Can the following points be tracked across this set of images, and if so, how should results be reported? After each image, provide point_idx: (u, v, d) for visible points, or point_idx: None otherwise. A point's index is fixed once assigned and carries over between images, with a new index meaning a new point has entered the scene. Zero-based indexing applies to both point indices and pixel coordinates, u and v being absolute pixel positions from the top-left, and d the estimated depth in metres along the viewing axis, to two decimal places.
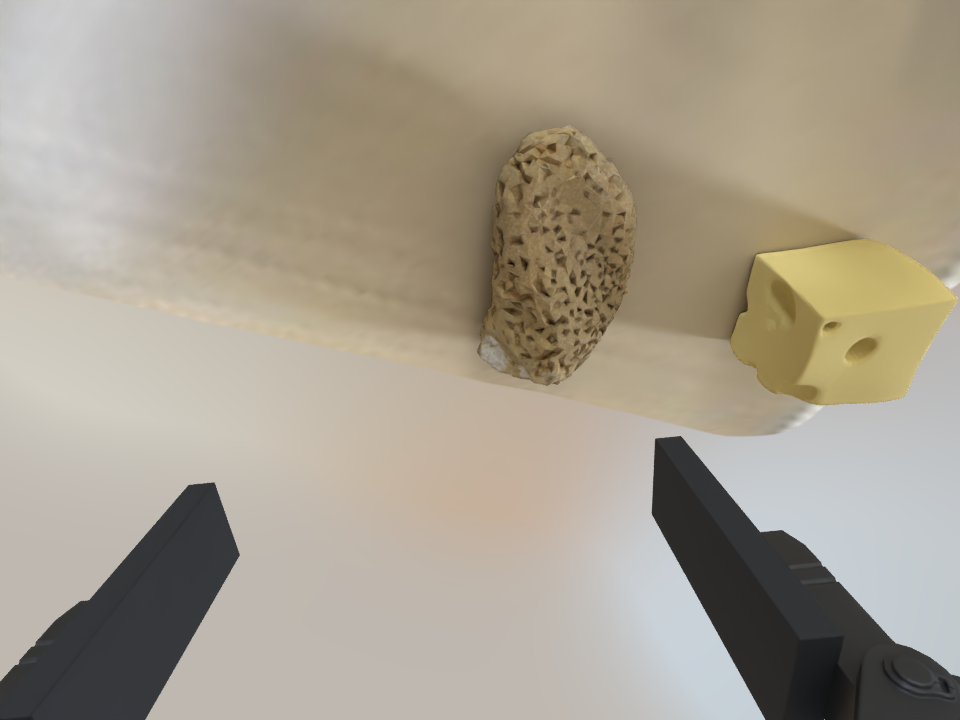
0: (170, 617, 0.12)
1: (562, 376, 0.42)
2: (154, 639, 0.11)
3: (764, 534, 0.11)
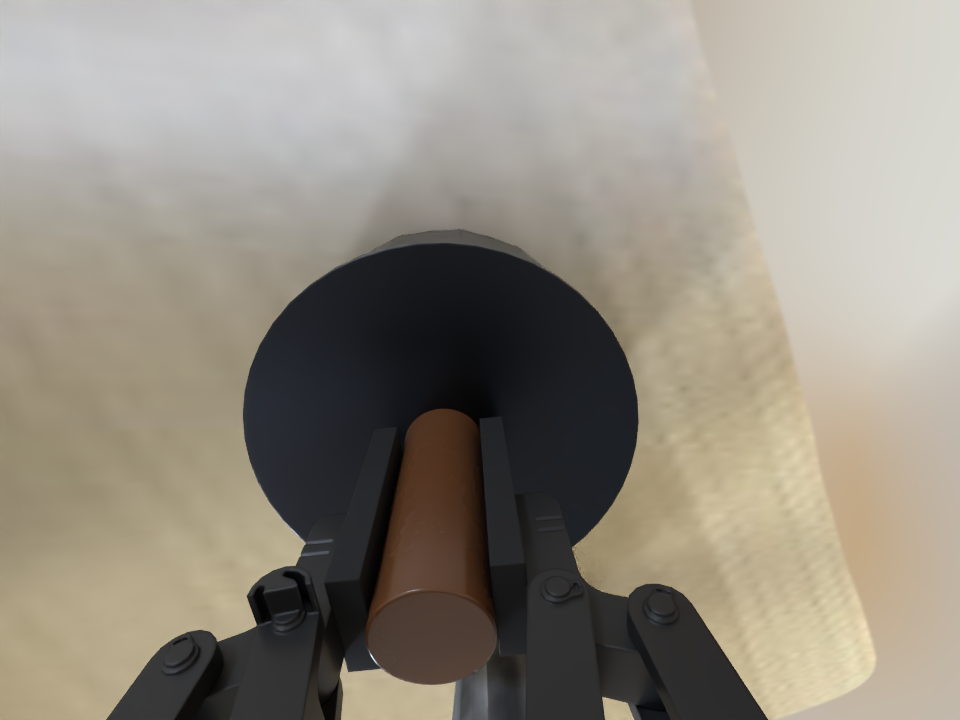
0: None
1: None
2: None
3: (531, 494, 0.13)
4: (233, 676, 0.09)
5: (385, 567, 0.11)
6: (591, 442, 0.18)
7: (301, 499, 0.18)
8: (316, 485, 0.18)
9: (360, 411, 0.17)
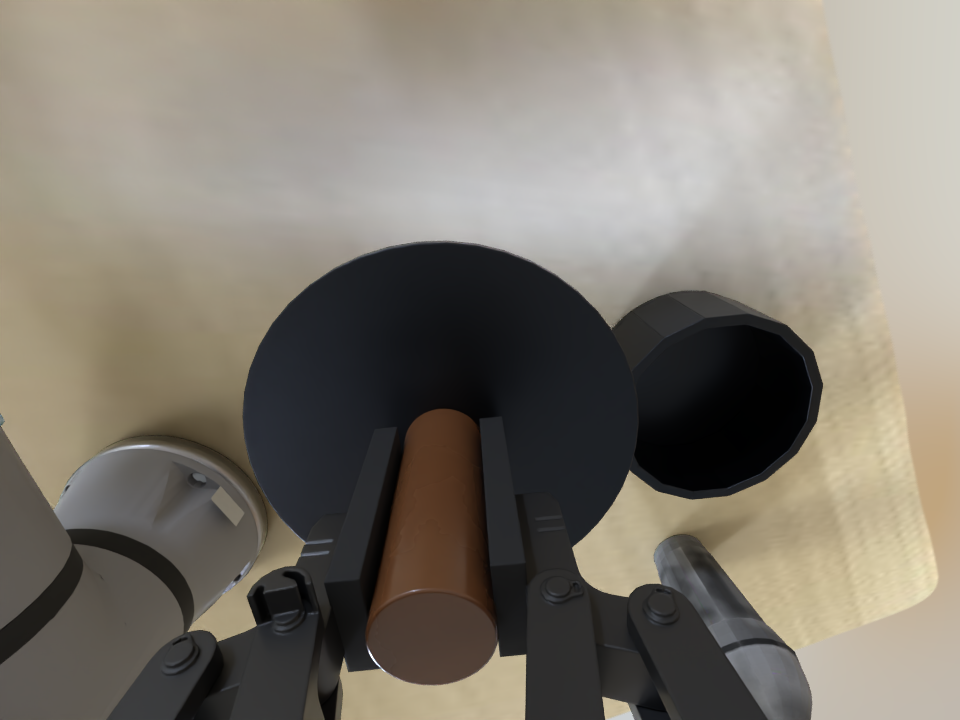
0: None
1: None
2: None
3: (531, 494, 0.13)
4: (233, 676, 0.09)
5: (385, 567, 0.11)
6: (591, 442, 0.18)
7: (301, 499, 0.18)
8: (316, 485, 0.18)
9: (360, 411, 0.17)
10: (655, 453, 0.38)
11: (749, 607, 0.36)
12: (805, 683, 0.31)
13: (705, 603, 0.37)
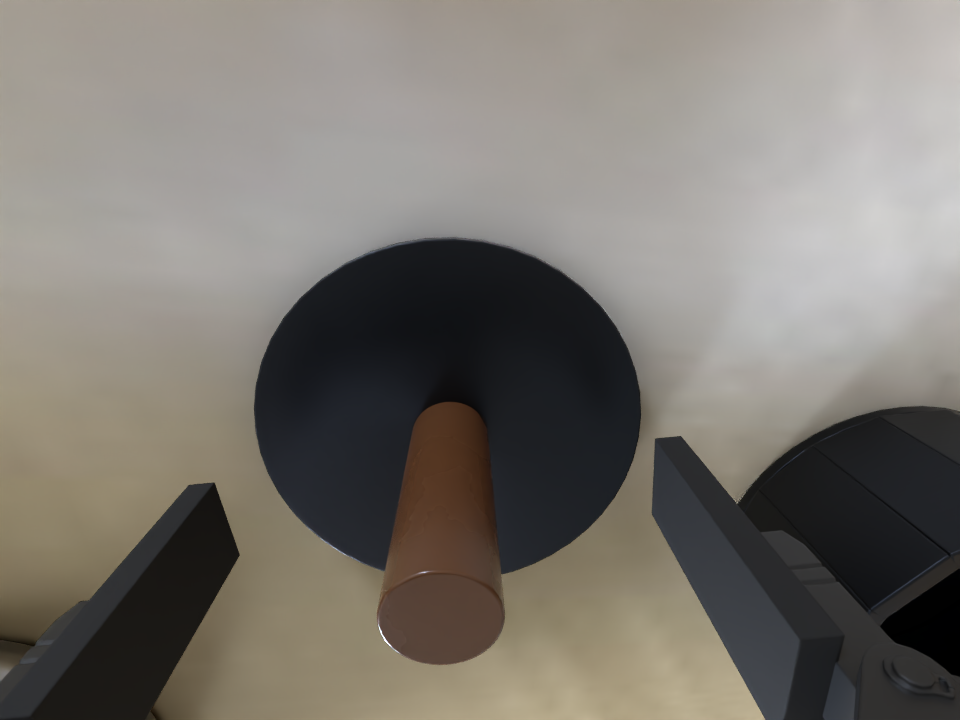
0: (170, 617, 0.12)
1: None
2: (154, 639, 0.11)
3: (764, 534, 0.11)
4: None
5: (395, 551, 0.11)
6: (594, 435, 0.18)
7: (310, 490, 0.19)
8: (325, 476, 0.19)
9: (368, 404, 0.17)
10: None
11: None
12: None
13: None
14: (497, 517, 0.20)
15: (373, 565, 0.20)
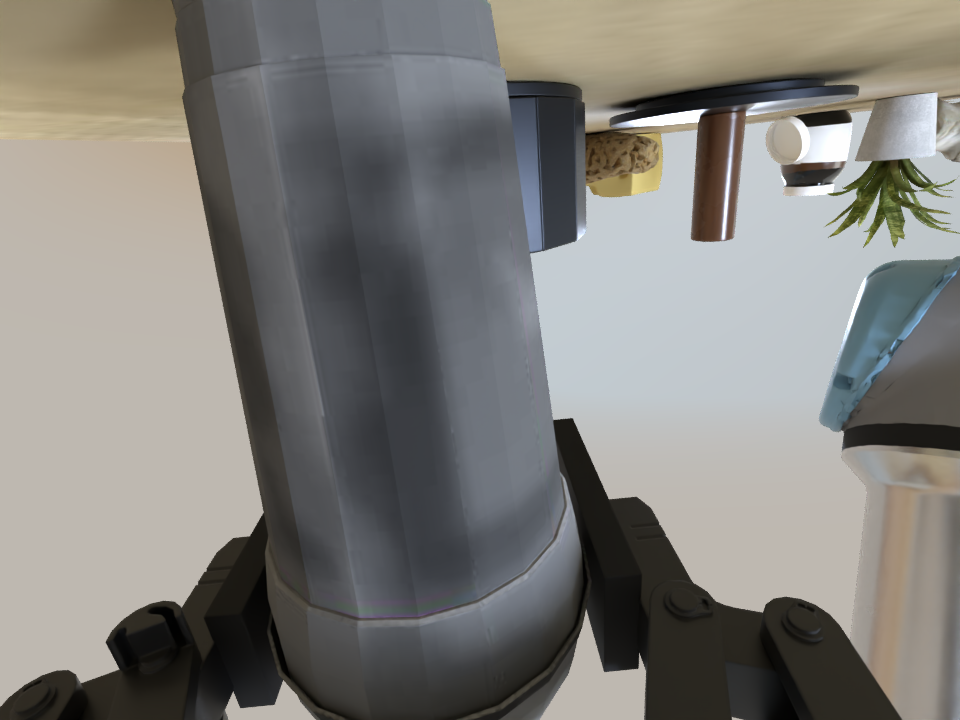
0: None
1: None
2: None
3: (620, 500, 0.13)
4: None
5: None
6: (643, 121, 0.31)
7: (827, 101, 0.30)
8: (809, 103, 0.31)
9: (750, 112, 0.33)
10: None
11: None
12: None
13: None
14: (731, 109, 0.28)
15: (845, 95, 0.26)
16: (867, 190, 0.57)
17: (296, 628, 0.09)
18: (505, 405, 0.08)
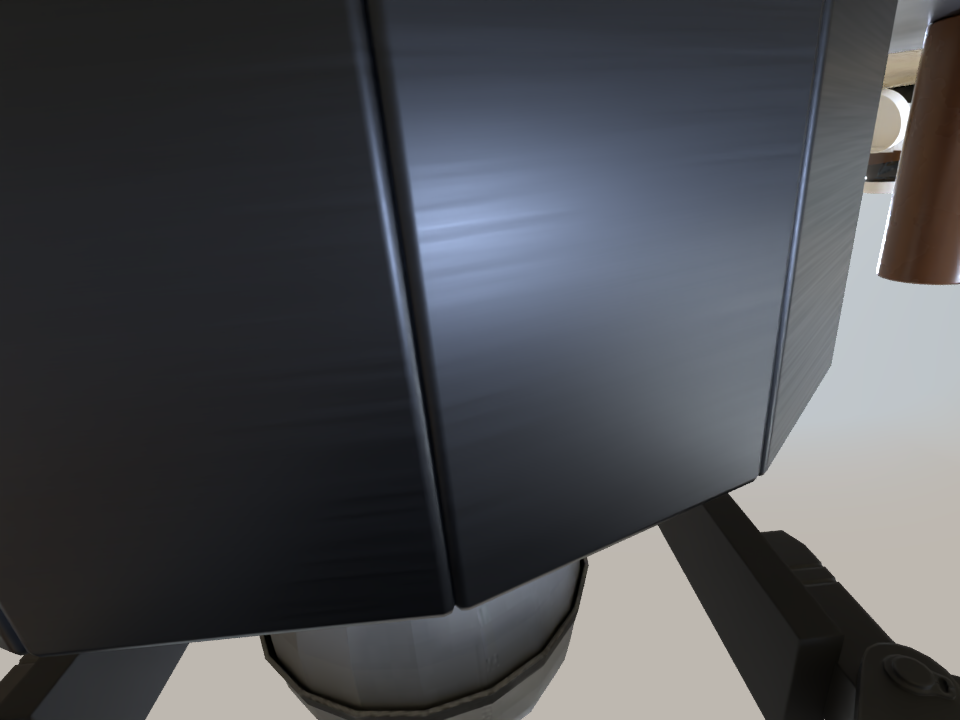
0: None
1: None
2: None
3: (764, 534, 0.11)
4: None
5: None
6: None
7: None
8: None
9: None
10: None
11: None
12: None
13: None
14: None
15: None
16: None
17: None
18: None
